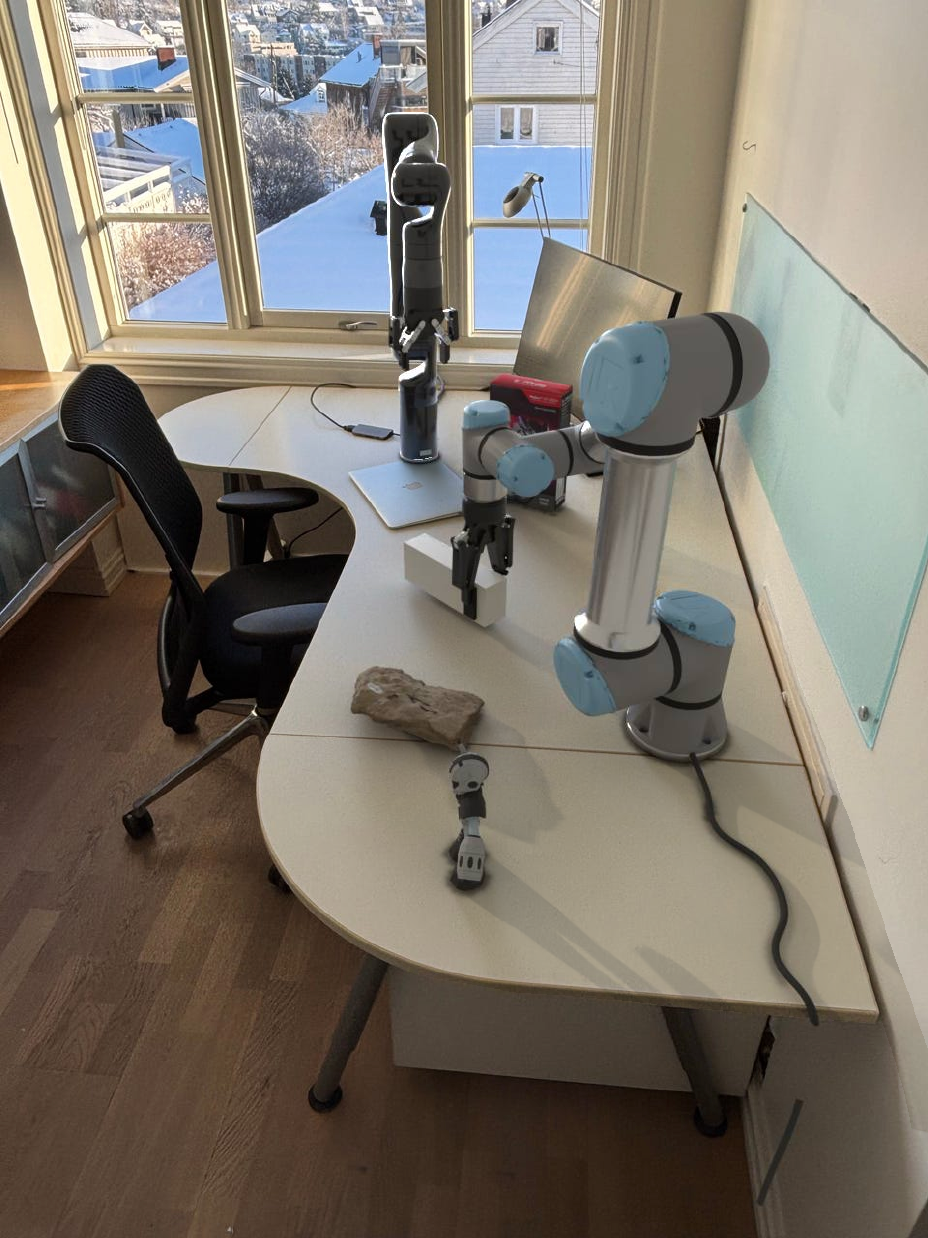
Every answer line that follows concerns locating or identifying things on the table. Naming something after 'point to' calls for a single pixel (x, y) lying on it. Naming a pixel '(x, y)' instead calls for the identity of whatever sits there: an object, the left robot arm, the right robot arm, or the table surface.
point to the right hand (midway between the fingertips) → (482, 610)
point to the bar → (434, 575)
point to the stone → (416, 706)
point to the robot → (469, 818)
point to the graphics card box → (535, 423)
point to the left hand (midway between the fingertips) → (424, 366)
